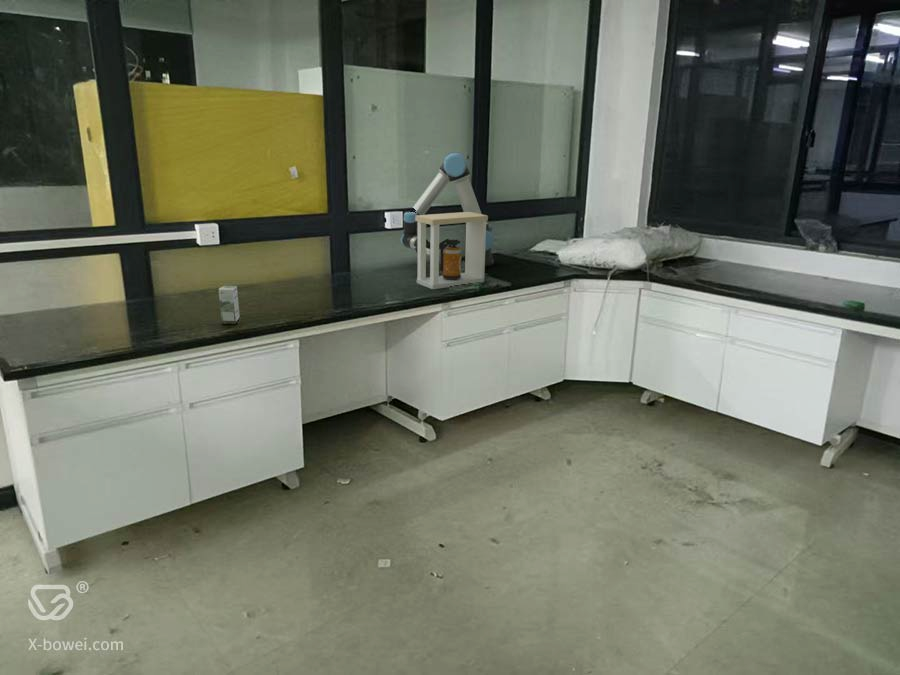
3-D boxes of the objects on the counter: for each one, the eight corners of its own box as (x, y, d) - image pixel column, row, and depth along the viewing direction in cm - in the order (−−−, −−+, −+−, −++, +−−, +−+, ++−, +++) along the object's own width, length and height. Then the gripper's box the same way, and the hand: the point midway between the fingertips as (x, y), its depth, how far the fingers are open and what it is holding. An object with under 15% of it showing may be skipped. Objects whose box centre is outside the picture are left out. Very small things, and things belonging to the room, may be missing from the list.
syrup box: (240, 320, 253) (237, 285, 248) (236, 325, 247) (232, 289, 243) (226, 320, 253) (222, 285, 248) (221, 325, 247) (217, 289, 243)
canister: (460, 280, 315) (461, 240, 309) (438, 280, 316) (438, 240, 309) (460, 276, 324) (462, 237, 317) (439, 276, 324) (439, 237, 318)
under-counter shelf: (467, 275, 335) (469, 211, 324) (485, 281, 323) (487, 215, 312) (415, 282, 318) (415, 215, 308) (432, 289, 306) (432, 219, 295)
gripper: (439, 249, 347) (461, 255, 331) (399, 253, 334) (420, 260, 317) (439, 235, 345) (461, 241, 328) (399, 239, 332) (420, 245, 315)
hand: (441, 250), depth 323 cm, fingers open, 13 cm apart
